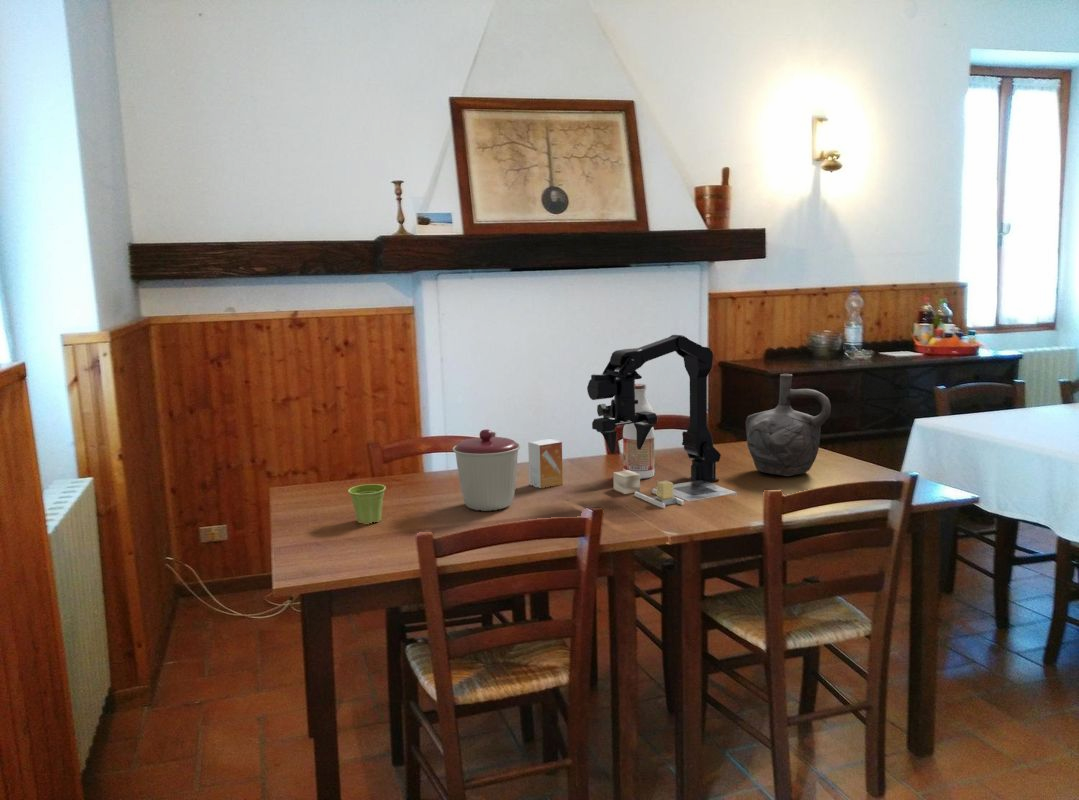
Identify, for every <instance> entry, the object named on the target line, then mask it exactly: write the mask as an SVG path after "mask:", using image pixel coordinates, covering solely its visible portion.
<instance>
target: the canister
mask: <svg viewBox="0 0 1079 800" xmlns="http://www.w3.org/2000/svg"><path fill="white" fill-rule="evenodd" d="M520 449H521V444H520V443H518V442H517V441H515V440H513V439H511V438H507V437H503V436H502V437H501V436H493V432H492V430H491V429H482V430H480V432H479V437H474V438H473V437H472V438H468V439H464V440H462V441H460V442H458V443H457V444H456V445H454V446H453V447H452V451H453V452H454V453H455V458H456V459H455V460H456V465H457V473H458V478H459V484H460V485H459V487H460V490H461V494H462V495H461V496H462V500H463V502H464V504H465V505H466V507H468V509H471V510H475V511H479V510H481V512H482V511H483V512H493V511H497V510H498V509H499V510H503V509H506V508H508V507H509V506H510V505H511V504H512V503H513V501H514V498H515V491H516V482H517V469H518V468H517V467H518V466H517V465H518V454H519V450H520ZM492 510H493V511H492Z"/></svg>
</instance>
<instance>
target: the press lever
mask: <svg viewBox="0 0 1079 800" xmlns="http://www.w3.org/2000/svg"><path fill="white" fill-rule="evenodd" d="M673 484H674V482H671V481H670V480H662V481H656V487H657V495H655V496H653V499H655V500H658V501H660V502H662V503H665V506H669V505H675V504H677V503H676V498H677V497H676V496H674V495H673ZM673 496H674V497H673Z"/></svg>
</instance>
